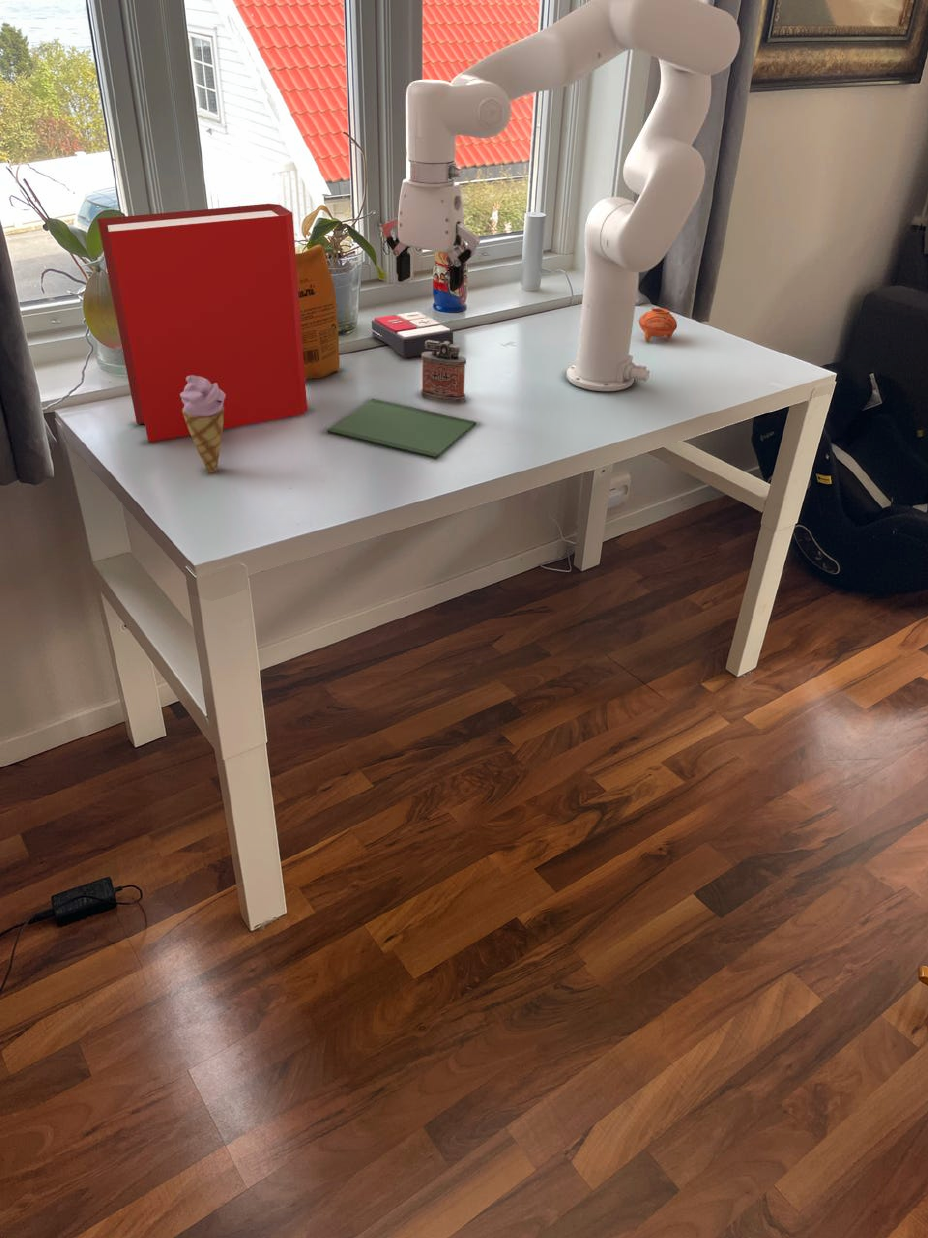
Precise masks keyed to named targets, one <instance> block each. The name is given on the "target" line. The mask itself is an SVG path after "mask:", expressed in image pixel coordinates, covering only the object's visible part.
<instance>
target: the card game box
mask: <svg viewBox="0 0 928 1238" xmlns="http://www.w3.org/2000/svg"><path fill="white" fill-rule="evenodd" d="M372 329H373V330H374V331H376V332H377V333H379V334H380V335H382V337H380V336H379V335H377V334H376V333H375V332H373V331H372ZM371 333H372V336H373V337H375V338H376V339H378V340H380V341H382V342H383V343H385V344H386V345H388V346H390V347H392V348H393V349H394V351H395V352H396V353H397V354H398V355H400V356H402V357H403V358H411V357H418V356H421V354H422V353H423V352H432V349H426V348H425V342H426V341H427V340H431V341H438V342H439V343H444V342H445V341H449V342H450V343H451V344H452V345H454V331H453V330H451V329H450V328H449V327H446V326H445V325H443V324H441V323H440V322H439V321H437V320H435V319H433V318H431V317H428V316H427V315H425V314H423V313H421V312H420V311H411V312H405V313H398V314H397V315H395V314H393V315H387V316H379V317H375V318H374V319H373V320H372V321H371ZM437 352H439V351H438V350H437Z"/></svg>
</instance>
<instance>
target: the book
mask: <svg viewBox="0 0 928 1238" xmlns="http://www.w3.org/2000/svg"><path fill="white" fill-rule="evenodd" d="M293 215H294V214H293V212H292V211H291V210H289V209H288V208H286V207H284V205H281V204H276V203H262V204H252V205H251V204H250V205H249V204H248V205H239V206H227V207H216V208H205V209H194V210H193V209H192V210H182V211H181V210H180V211H169V212H160V213H158V212H157V213H149V214H146V213H145V214H137V215H136V214H135V215H125V216H113V217H112V216H111V217H102V218H97V225H98V229H99V236H100V240H101V245H102V252H103V256H104V261H105V266H106V271H107V277H108V282H109V287H110V292H111V298H112V302H113V308H114V312H115V313H114V314H115V318H116V323H117V328H118V334H119V339H120V345H121V349H122V355H123V360H124V365H125V369H126V370H125V371H126V375H127V380H128V385H129V392H130V395H131V401H132V406H133V412H134V417H135V421H136V424H137V425H139V424H144V428H145V432H146V433H145V434H146V438H147V443H148V444H150V443H155V442H160V441H166V440H171V439H178V438H182V437H188V436H191V434H190V432H189V429H188V427H187V424H186V421H185V418H184V415H183V412H182V409H183V407H184V403H183V402H182V399H181V397H180V393H182V392H183V391H184V388H185V386H186V385H187V384H188V383H187V381H186V377H188V376H192V375H194V376H198V377H203V378H205V379H207V380H208V381H209V382H210V384H215V383H217V384H218V387H219V389H220V390H222V391H223V392H224V393H225V395H226V397H225V399H224V403H223V405H224V420H223V430H227V429H231V428H237V427H242V426H248V425H253V424H259V423H264V422H270V421H274V420H281V419H285V418H291V417H296V416H297V417H298V416H302V415H304V414H305V413H306V412H308V399H307V397H308V396H307V385H306V379H305V370H304V357H303V344H302V331H301V319H300V306H299V293H298V280H297V267H296V254H295V253H296V242H295V229H294V216H293Z"/></svg>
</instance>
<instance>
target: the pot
mask: <svg viewBox="0 0 928 1238" xmlns="http://www.w3.org/2000/svg"><path fill="white" fill-rule="evenodd" d="M638 325H639V327H640V329H641V331H643V332H644V340H645V342H646V343H649V342H650V340H651V337H653V338H663V337H667V338H666V341H669V340H671V338H672V336H673V334H674V333H675V330H677V328H678V323H677V320H676V319H675V317H674V316H673V315H672V314H671V313H670V311H669V310H668V309H666V308H662V307H657V308H653V307H652V308H651V310H649V311H647V312H645V313H643V314H642V315H641V316H640V317H639V319H638Z"/></svg>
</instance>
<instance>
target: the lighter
mask: <svg viewBox="0 0 928 1238" xmlns="http://www.w3.org/2000/svg"><path fill="white" fill-rule="evenodd" d="M425 348H426V349H432V352H423V353H422V354H421V355H420V356H421V357H420V358H421V363H422V364H421V367H422V368H421V369H422V370H421V373H422V375H421V377H422V378H421V379H422V380H421V382H422V383H421V384H422V385H421V390H420V393H421V397H422V398H425V399H430V400H434V401H439V402H446V403H457V404H459V403H463V402H464V401H465V400H466V395H465V371H466V370H465V369H466V364H467V359H466V357H465V356H461V355H460V345H458V344H453V345H452V344H451V343H450V342H449V341H445V342H444V343H439V342H438V341H431V340H427V341H426V342H425ZM437 350H438V351H439V352H437Z"/></svg>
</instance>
